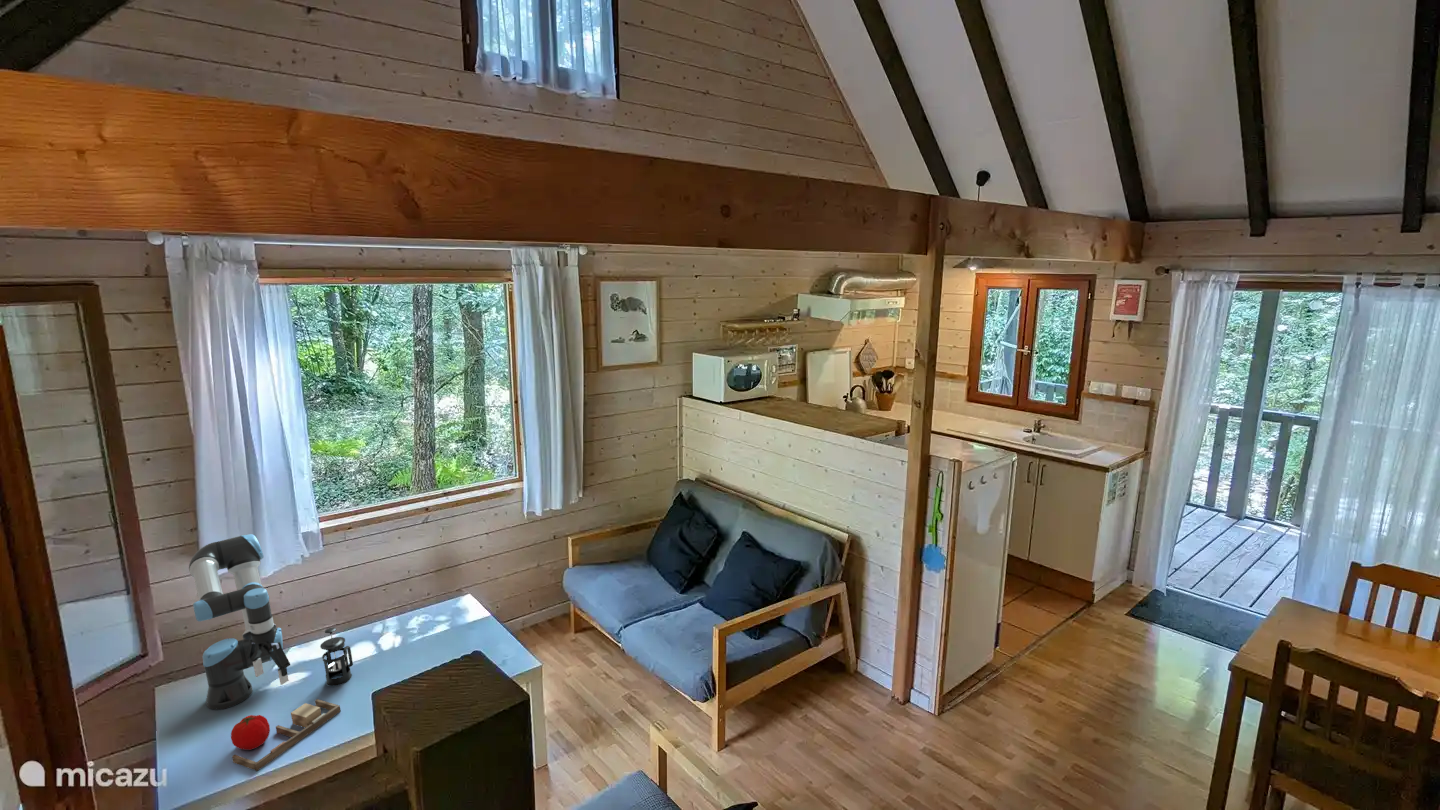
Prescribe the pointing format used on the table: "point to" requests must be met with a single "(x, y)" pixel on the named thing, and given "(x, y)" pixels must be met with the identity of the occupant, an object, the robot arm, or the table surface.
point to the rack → (290, 733)
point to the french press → (336, 660)
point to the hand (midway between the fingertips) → (272, 678)
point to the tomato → (250, 732)
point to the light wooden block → (305, 715)
